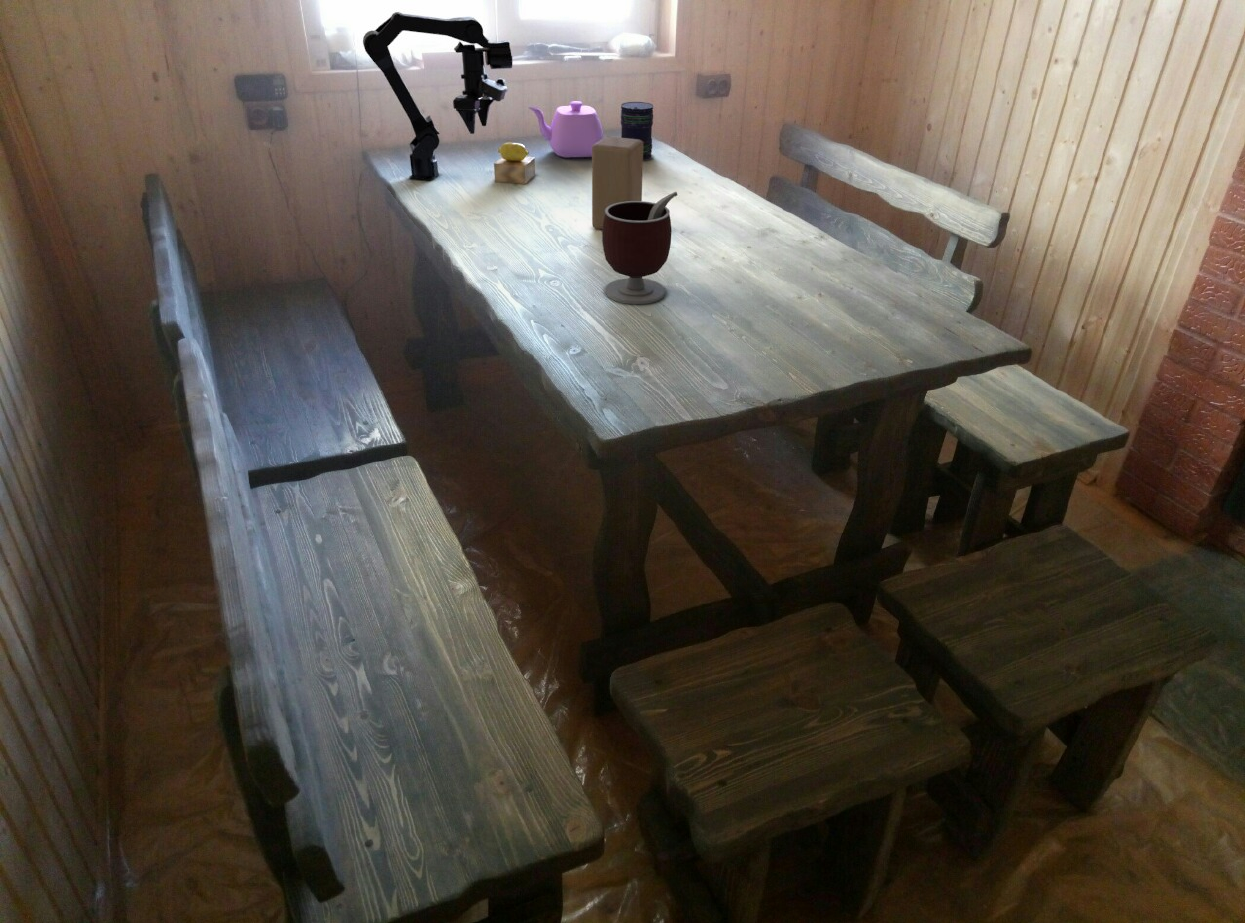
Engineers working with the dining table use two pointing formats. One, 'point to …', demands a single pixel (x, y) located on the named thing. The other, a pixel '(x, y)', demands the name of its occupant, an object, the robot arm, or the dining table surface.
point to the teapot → (571, 130)
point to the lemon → (513, 152)
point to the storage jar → (638, 124)
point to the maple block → (514, 170)
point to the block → (615, 174)
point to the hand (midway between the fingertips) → (478, 129)
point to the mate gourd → (637, 248)
